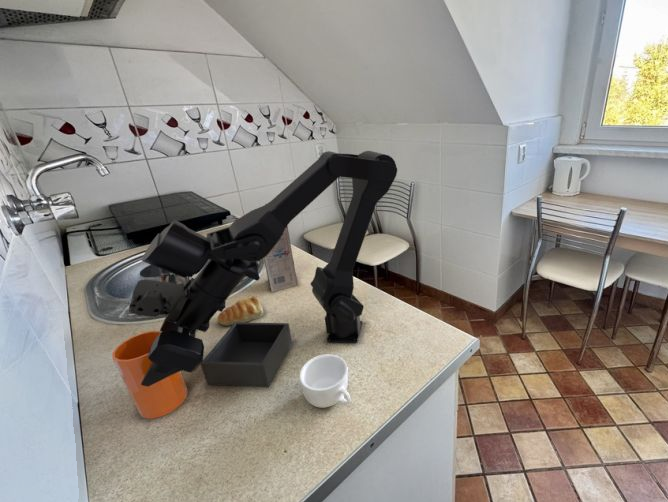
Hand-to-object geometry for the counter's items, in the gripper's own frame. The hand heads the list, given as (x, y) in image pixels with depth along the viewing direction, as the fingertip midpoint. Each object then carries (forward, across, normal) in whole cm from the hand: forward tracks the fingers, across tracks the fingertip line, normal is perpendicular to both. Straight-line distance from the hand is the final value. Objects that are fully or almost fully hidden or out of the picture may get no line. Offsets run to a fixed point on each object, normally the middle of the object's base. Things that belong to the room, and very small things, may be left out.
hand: (150, 364), depth 51 cm
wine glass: (+5, -22, +6) cm, 23 cm away
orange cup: (+6, 0, +6) cm, 8 cm away
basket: (-4, -2, +15) cm, 16 cm away
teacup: (-12, +13, +23) cm, 29 cm away
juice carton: (-11, -30, +22) cm, 39 cm away
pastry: (-4, -19, +15) cm, 24 cm away
